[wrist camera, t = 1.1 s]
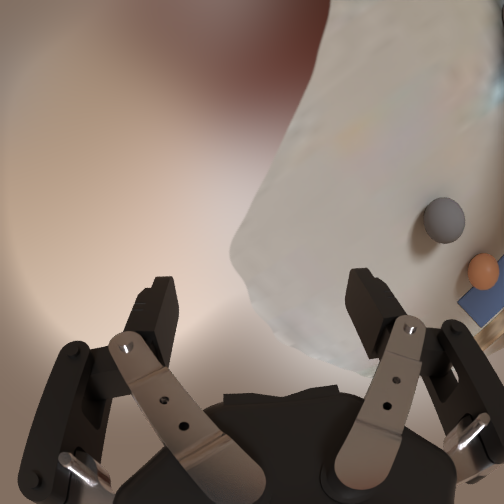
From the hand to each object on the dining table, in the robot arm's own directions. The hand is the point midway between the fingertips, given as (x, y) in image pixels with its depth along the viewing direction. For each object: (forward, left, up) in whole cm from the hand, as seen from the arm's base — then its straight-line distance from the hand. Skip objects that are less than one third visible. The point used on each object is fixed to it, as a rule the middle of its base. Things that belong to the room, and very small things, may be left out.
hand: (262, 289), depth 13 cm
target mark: (-8, +47, -21) cm, 52 cm away
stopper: (-8, +56, -21) cm, 61 cm away
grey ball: (-8, +21, -18) cm, 29 cm away
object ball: (-8, +35, -18) cm, 40 cm away
